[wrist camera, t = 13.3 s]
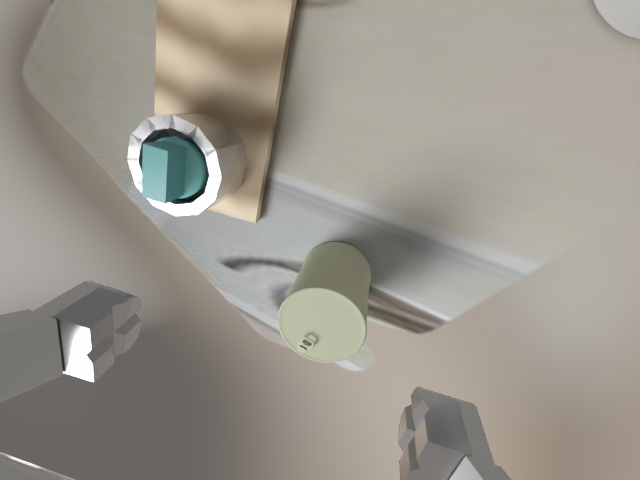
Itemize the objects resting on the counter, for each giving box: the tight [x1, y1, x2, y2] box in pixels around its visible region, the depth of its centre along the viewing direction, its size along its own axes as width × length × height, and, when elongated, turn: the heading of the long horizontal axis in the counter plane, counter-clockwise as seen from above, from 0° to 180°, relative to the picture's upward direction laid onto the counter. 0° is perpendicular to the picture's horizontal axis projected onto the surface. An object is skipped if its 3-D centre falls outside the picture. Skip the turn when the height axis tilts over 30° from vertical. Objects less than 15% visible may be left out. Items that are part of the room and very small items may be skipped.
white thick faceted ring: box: [127, 112, 249, 216], centre depth 36 cm, size 10×10×7 cm
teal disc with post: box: [142, 136, 209, 204], centre depth 32 cm, size 6×6×4 cm
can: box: [278, 242, 372, 363], centre depth 38 cm, size 9×9×12 cm
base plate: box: [154, 0, 297, 223], centre depth 37 cm, size 25×14×2 cm, turn 166°
